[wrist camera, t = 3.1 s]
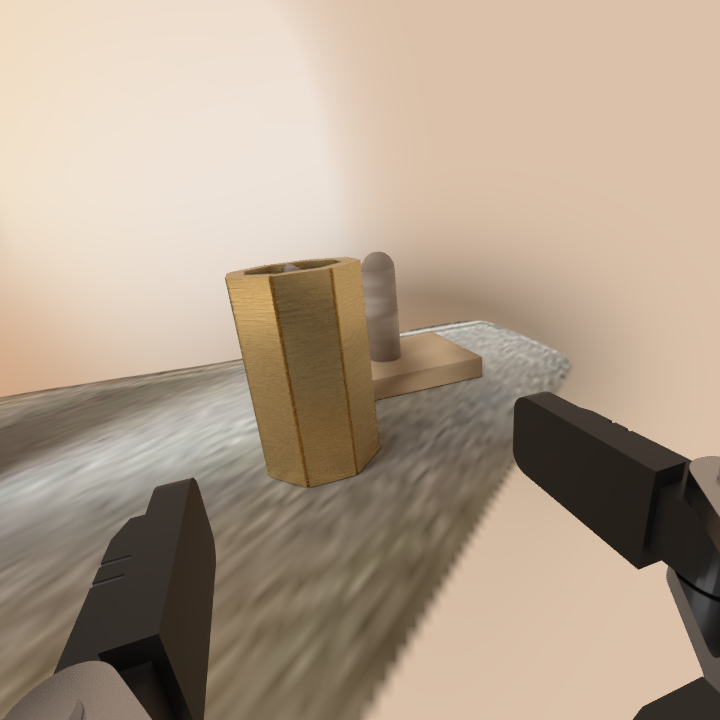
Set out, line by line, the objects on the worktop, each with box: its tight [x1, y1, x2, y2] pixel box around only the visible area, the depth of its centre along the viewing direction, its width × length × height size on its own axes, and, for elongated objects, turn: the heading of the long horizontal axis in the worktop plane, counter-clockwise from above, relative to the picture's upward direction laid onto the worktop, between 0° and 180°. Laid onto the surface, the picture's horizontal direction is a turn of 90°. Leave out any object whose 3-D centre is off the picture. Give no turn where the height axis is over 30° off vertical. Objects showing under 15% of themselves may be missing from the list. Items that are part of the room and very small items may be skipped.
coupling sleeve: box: [225, 257, 379, 488], centre depth 20 cm, size 6×6×10 cm
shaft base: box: [361, 252, 482, 400], centre depth 29 cm, size 12×8×10 cm, turn 106°
